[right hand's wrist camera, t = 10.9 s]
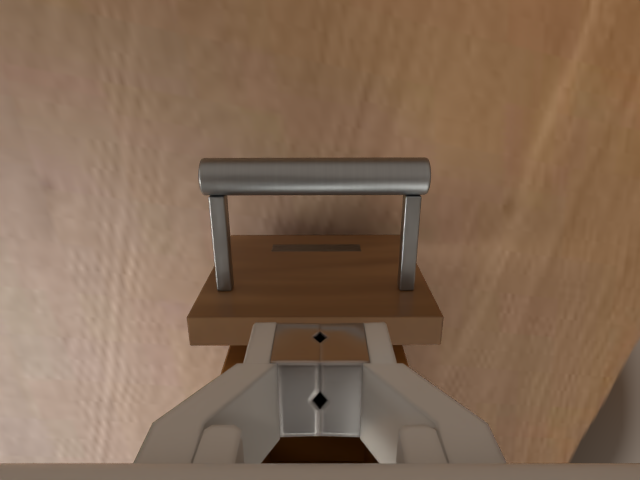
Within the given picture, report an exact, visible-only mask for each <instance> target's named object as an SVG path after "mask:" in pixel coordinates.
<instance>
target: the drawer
mask: <svg viewBox="0 0 640 480" xmlns="http://www.w3.org/2000/svg"><path fill="white" fill-rule="evenodd" d="M198 176H199V185H200V189H201V192H202V194H204V195H210V196H209V209H210V219H211V230H212V241H213V252H214V263H215V266H214V268H213V270H212V271H211V273H210V275H209V277H208V279H207V281H206V283H205V285H204V286H203V288H202V290H201V292H200V294H199V296H198V298H197V300H196V301H195V303H194V305H193V307H192V309H191V311H190V313H189V314H188V316H187V324H188V332H189V340H190V345H230V347H229V350H228V353H227V356H226V359H225V362H224V365H223V369H222V372H221V374H223V373H224V372H225V371H227V370H228V369H230V368H231V367H232V366H234V365H235V364H237V363H243V362H244V358H245V354H246V350H247V347H248V343H249V339H250V335H251V331H252V328H253V325H254V324H255V323H256V322H276V323H320V324H331V323H372V322H385V323H386V324H387V328H388V332H389V336H390V339H391V343H392V347H393V351H394V354H395V358H396V362H397V363H403V364H405V365H406V366H408V363H407V360H406V356H405V353H404V350H403V346H402V345H440V344H441V336H442V326H443V315H442V313H441V311H440V309H439V307H438V305H437V303H436V301H435V299H434V297H433V295H432V293H431V291H430V289H429V287H428V285H427V283H426V281H425V279H424V277H423V275H422V273H421V271H420V269H419V267H418V265H417V263H416V259H417V246H418V234H419V221H420V209H421V196H420V195H425V194H427V193H428V190H429V187H430V182H431V167H430V163H429V160H428V159H427V158H204V159H202V160H201V161H200V165H199V173H198ZM227 195H403V204H402V219H401V235H231V236H230V227H229V214H228V201H227ZM408 367H409V366H408ZM262 463H379V462H378V461H377V460H376V458H375V457H374V456H373V455H372V453H371V452H370V451H369V450H368V448H367V447H366V446H365V444H364V443H363V442H362V441H361V439H360V437H338V436H301V437H280V440H279V441H278V442H277V444H276V445H275V446H274V447H273V449H272V450H271V451H270V452H269V454H268V455H267V456H266V457H265V459H264V460H263V461H262Z"/></svg>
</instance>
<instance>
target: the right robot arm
mask: <svg viewBox="0 0 640 480" xmlns="http://www.w3.org/2000/svg"><path fill="white" fill-rule="evenodd" d="M301 436H338V437H360V439H361V441H362V442H363V443H364V444H365V446H366V447H367V448H368V450H369V451H370V452H371V453H372V455H373V456H374V457H375V458H376V460H377V461H378V462H379V463H262V461H263V460H264V459H265V457H266V456H267V455H268V454H269V452H270V451H271V450H272V449H273V447H274V446H275V445H276V444H277V442H278V441H279V440H280V437H301ZM0 480H640V463H506V461H505V459H504V457H503V454H502V452H501V450H500V448H499V446H498V444H497V442H496V440H495V438H494V435H493V433H492V431H491V429H490V427H489V425H488V423H486V422H485V421H484V420H482V419H481V418H479V417H478V416H477V415H475V414H474V413H472V412H471V411H470V410H468V409H467V408H465V407H464V406H462V405H461V404H460V403H458V402H457V401H455V400H454V399H453V398H451V397H450V396H448V395H447V394H446V393H444V392H443V391H441V390H440V389H439V388H437V387H436V386H434V385H433V384H432V383H430V382H429V381H427V380H426V379H424V378H423V377H422V376H420V375H419V374H417V373H416V372H415V371H413V370H412V369H410V368H409V367H408V366H406V365H405V364H403V363H397V362H396V358H395V354H394V351H393V347H392V343H391V339H390V336H389V332H388V328H387V324H386V323H385V322H372V323H331V324H320V323H276V322H256V323H255V324H254V325H253V328H252V331H251V335H250V339H249V343H248V347H247V350H246V354H245V358H244V362H243V363H237V364H235V365H234V366H232V367H231V368H230V369H228V370H227V371H225V372H224V373H223V374H221V375H220V376H218V377H217V378H215V379H214V380H213V381H211V382H210V383H208V384H207V385H206V386H204V387H203V388H201V389H200V390H198V391H197V392H196V393H194V394H193V395H191V396H190V397H189V398H187V399H186V400H184V401H183V402H181V403H180V404H179V405H177V406H176V407H174V408H173V409H172V410H170V411H169V412H167V413H166V414H165V415H163V416H162V417H160V418H159V419H157V420H156V421H155V422H153V423H152V425H151V427H150V430H149V432H148V434H147V436H146V438H145V440H144V442H143V444H142V446H141V448H140V450H139V452H138V454H137V457H136V459H135V461H134V463H0Z"/></svg>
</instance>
